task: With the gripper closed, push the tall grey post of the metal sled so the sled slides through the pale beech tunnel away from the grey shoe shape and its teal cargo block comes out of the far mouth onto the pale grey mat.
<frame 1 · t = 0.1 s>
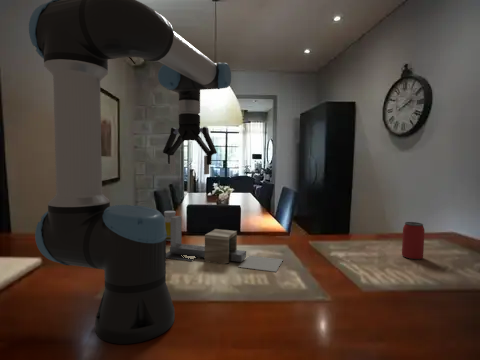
hand: (189, 173, 112), 28 cm above the table, fingers open, 13 cm apart
beer can: (412, 257, 109), on the table
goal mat: (261, 263, 100), on the table
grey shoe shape: (183, 254, 109), on the table
tunnel: (221, 258, 105), on the table
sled: (207, 237, 106), point 7 cm above the table, slide at 0.0 cm
pill bottle: (169, 239, 129), on the table
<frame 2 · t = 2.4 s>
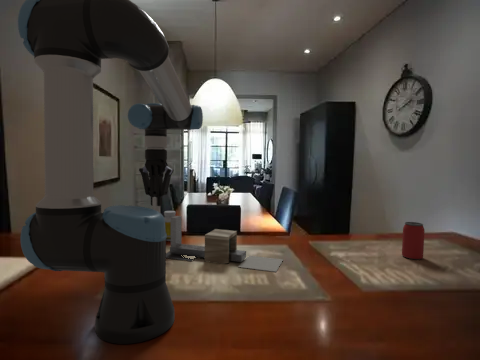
hand: (156, 214, 112), 13 cm above the table, fingers closed
nothing on the table moved.
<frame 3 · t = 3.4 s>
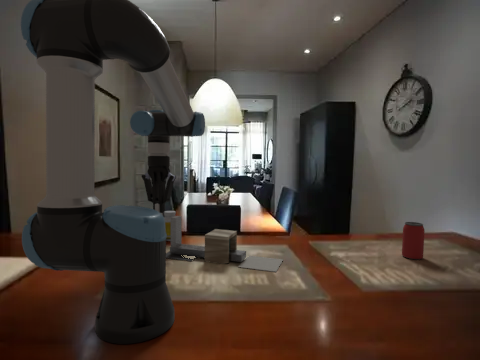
hand: (158, 221, 111), 11 cm above the table, fingers closed
nothing on the table moved.
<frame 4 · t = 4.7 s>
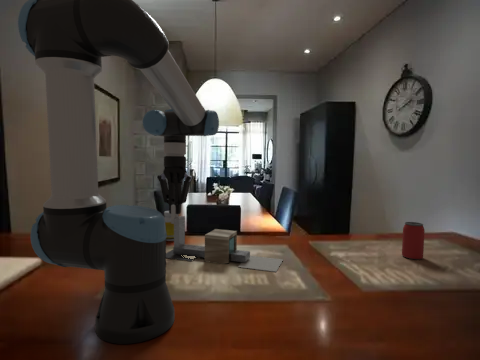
hand: (174, 223, 109), 11 cm above the table, fingers closed
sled: (211, 237, 105), point 7 cm above the table, slide at 1.3 cm, touching gripper
everything else where it was.
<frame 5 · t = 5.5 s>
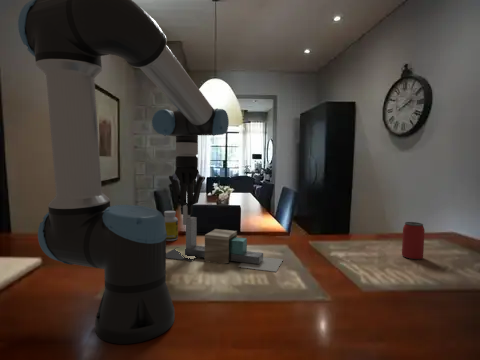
hand: (186, 224, 108), 11 cm above the table, fingers closed
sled: (223, 239, 104), point 7 cm above the table, slide at 5.9 cm, touching gripper
everything else where it was.
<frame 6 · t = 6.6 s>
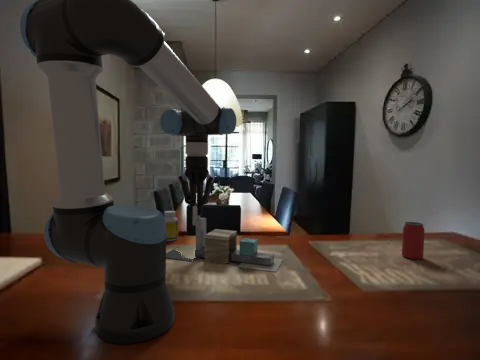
hand: (196, 224, 107), 11 cm above the table, fingers closed
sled: (234, 240, 103), point 7 cm above the table, slide at 9.6 cm, touching gripper
everything else where it was.
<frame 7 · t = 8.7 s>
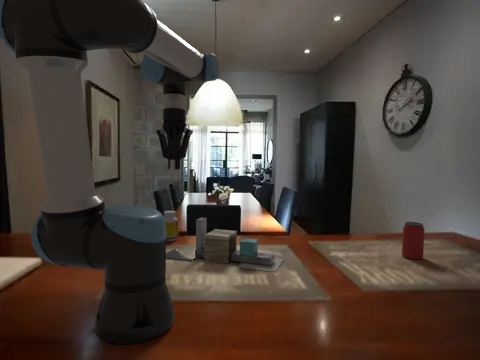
hand: (174, 179, 106), 26 cm above the table, fingers closed
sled: (234, 240, 103), point 7 cm above the table, slide at 9.7 cm
everything else where it was.
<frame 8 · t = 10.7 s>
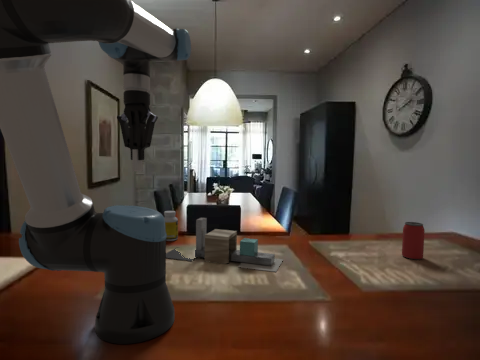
hand: (137, 171, 94), 29 cm above the table, fingers closed
nothing on the table moved.
at the end: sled slide at 9.7 cm; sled 0.6 cm from the target spot, resting on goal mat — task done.
